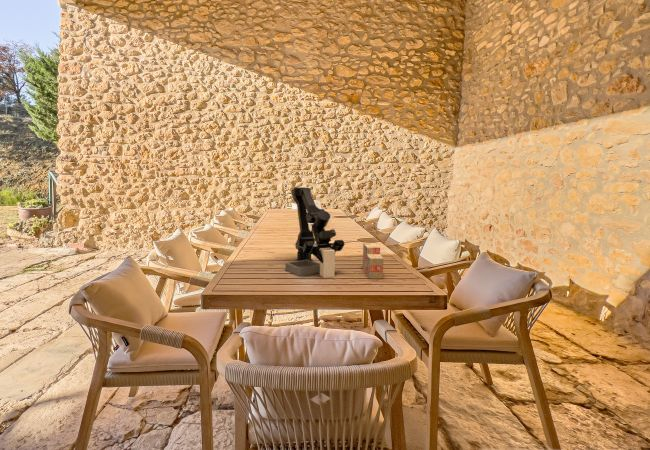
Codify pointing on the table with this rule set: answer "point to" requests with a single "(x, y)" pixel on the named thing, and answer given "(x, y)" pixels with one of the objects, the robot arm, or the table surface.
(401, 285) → the table surface
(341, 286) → the table surface
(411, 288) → the table surface
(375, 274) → the stack of blocks
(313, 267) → the grey square tray
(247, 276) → the table surface
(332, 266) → the cream block
